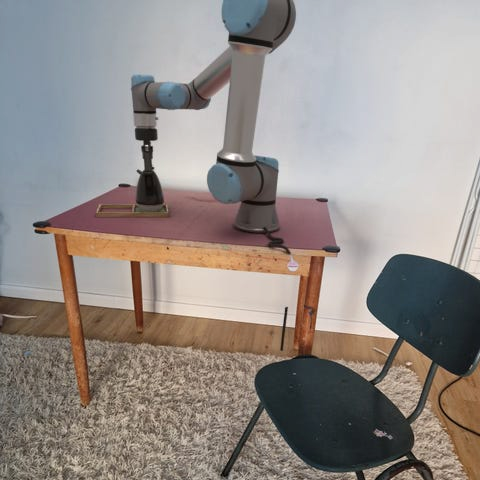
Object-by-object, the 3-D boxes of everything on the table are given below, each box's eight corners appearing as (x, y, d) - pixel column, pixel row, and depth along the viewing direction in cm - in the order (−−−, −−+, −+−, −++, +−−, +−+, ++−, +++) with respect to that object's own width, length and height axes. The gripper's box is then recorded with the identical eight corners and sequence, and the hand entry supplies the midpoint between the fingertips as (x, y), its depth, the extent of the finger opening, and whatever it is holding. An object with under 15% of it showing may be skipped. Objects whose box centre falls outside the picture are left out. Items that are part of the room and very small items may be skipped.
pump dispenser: (148, 207, 161) (146, 165, 154) (170, 211, 157) (168, 168, 149) (130, 212, 153) (126, 168, 146) (152, 216, 149) (149, 172, 141)
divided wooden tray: (168, 216, 150) (168, 212, 150) (96, 216, 146) (95, 212, 145) (167, 208, 162) (167, 204, 161) (100, 208, 157) (99, 204, 156)
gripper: (157, 130, 131) (161, 199, 141) (156, 125, 153) (160, 185, 163) (132, 129, 130) (138, 199, 140) (135, 125, 151) (140, 185, 161)
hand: (150, 192), depth 151 cm, fingers open, 13 cm apart
